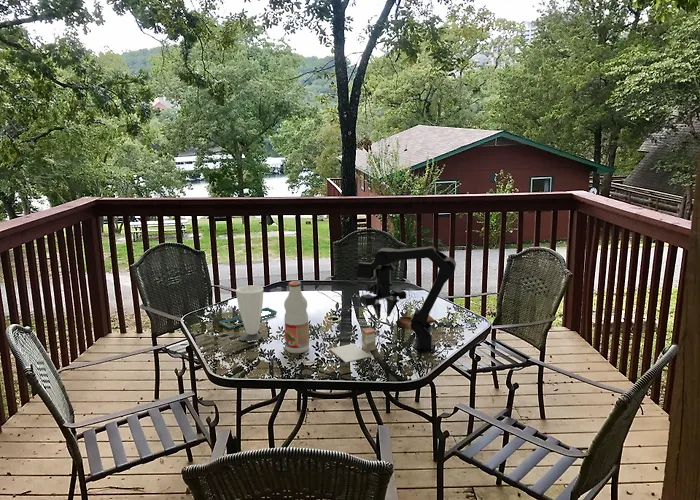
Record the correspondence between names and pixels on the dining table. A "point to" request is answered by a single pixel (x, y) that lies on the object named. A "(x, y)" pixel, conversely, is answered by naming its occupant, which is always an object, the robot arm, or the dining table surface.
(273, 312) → the teal flat open frame
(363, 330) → the tall block
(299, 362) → the dining table surface
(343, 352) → the beige flat slab
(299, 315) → the fruit juice
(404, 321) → the sunglasses case
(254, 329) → the cup
